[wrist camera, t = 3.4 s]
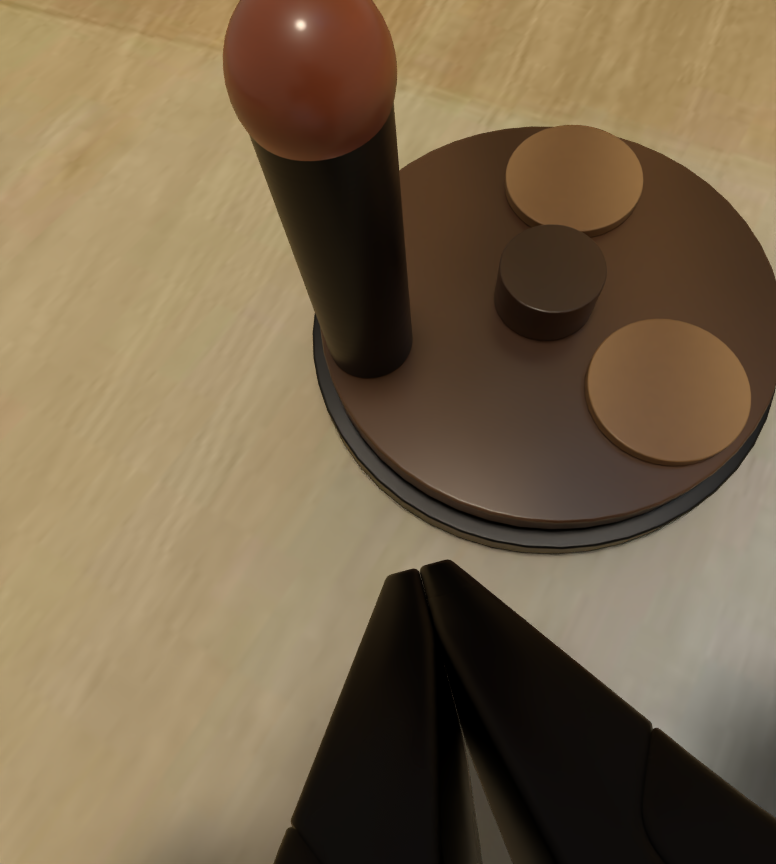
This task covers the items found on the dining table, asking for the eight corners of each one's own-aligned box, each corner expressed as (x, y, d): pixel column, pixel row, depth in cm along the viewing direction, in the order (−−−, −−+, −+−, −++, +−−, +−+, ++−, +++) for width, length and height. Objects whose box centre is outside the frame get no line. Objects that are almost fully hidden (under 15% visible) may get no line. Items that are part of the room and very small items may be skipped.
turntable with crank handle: (662, 109, 21) (886, -422, 11) (855, 462, 17) (1621, 135, 6) (292, 200, 21) (146, -243, 11) (376, 582, 16) (264, 472, 6)
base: (863, 356, 19) (885, 341, 18) (518, 661, 17) (523, 662, 16) (541, 104, 24) (545, 82, 23) (237, 315, 21) (228, 301, 20)
